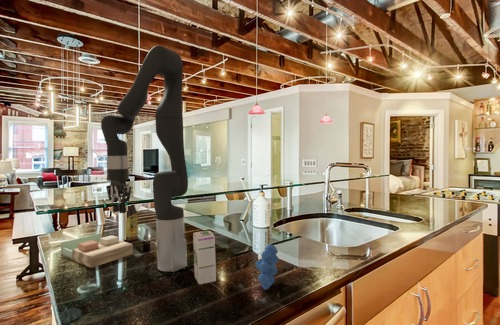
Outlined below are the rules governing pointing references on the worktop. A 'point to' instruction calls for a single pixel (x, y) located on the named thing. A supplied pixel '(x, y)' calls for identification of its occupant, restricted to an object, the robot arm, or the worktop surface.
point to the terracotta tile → (88, 245)
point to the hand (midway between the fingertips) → (119, 212)
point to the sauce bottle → (131, 223)
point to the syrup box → (204, 257)
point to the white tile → (109, 240)
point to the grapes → (267, 266)
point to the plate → (103, 253)
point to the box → (73, 244)
